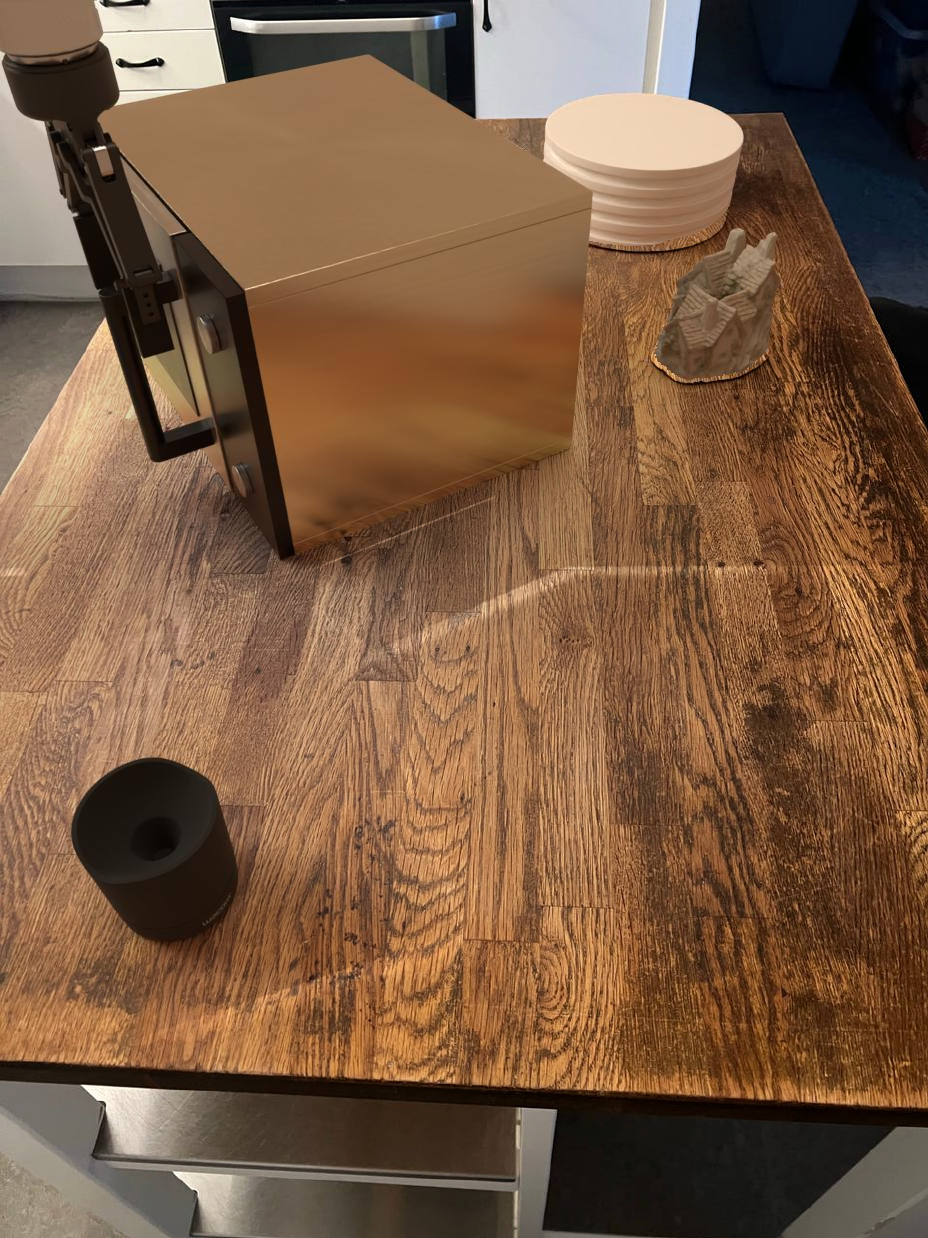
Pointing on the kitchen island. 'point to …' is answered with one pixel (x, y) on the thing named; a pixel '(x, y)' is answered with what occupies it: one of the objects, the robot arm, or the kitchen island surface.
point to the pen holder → (157, 847)
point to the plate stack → (646, 163)
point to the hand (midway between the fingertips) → (133, 317)
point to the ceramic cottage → (721, 311)
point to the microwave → (365, 289)
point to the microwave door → (174, 368)
